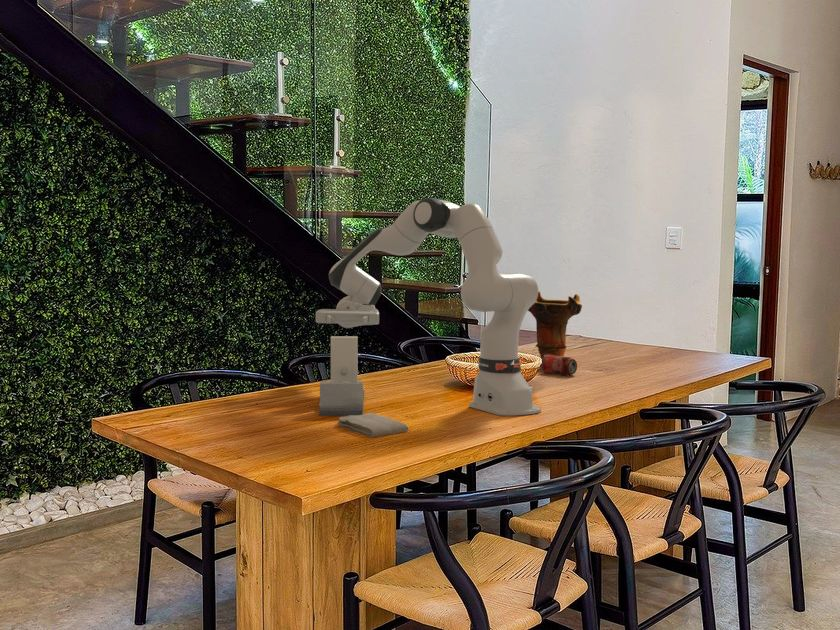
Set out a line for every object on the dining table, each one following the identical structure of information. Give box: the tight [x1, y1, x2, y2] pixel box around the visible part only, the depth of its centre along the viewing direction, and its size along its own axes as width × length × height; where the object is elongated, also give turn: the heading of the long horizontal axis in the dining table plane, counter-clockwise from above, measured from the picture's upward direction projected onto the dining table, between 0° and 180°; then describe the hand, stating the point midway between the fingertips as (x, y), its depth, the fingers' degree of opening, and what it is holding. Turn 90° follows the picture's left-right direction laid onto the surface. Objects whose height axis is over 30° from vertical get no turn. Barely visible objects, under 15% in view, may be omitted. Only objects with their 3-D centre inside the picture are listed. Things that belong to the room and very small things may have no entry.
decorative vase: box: [527, 289, 583, 359], centre depth 350 cm, size 21×23×28 cm
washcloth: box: [336, 412, 409, 438], centre depth 233 cm, size 12×18×3 cm, turn 38°
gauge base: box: [318, 380, 365, 417], centre depth 262 cm, size 30×12×8 cm, turn 3°
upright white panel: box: [330, 335, 359, 381], centre depth 269 cm, size 8×10×17 cm
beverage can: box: [540, 355, 578, 376], centre depth 319 cm, size 7×12×7 cm, turn 48°
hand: (346, 320), depth 276 cm, fingers open, 8 cm apart
